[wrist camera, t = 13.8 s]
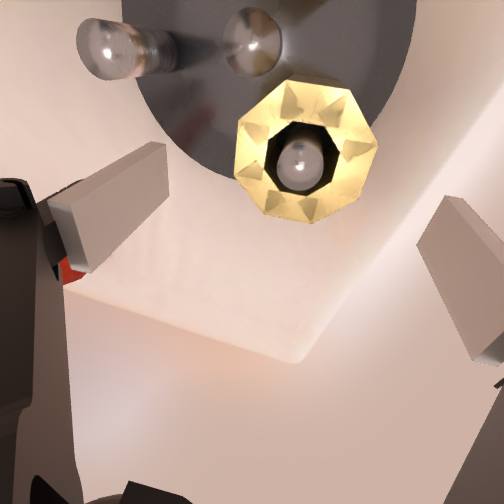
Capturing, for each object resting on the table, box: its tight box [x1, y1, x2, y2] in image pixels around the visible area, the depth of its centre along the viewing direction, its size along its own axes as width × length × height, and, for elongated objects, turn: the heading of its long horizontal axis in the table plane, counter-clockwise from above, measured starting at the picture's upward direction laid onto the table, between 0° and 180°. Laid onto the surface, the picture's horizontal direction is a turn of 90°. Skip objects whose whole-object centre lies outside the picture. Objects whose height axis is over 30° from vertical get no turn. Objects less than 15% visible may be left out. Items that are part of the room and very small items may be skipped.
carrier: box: [76, 0, 417, 191], centre depth 19 cm, size 22×22×9 cm
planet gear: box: [234, 74, 378, 224], centre depth 22 cm, size 9×9×7 cm
